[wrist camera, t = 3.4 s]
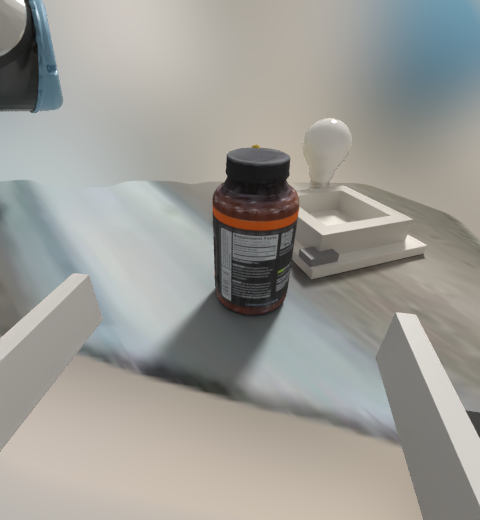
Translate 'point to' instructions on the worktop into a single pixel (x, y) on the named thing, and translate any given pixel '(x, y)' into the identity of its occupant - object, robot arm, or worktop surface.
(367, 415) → the worktop surface
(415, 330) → the robot arm
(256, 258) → the supplement bottle
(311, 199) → the socket
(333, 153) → the lightbulb
